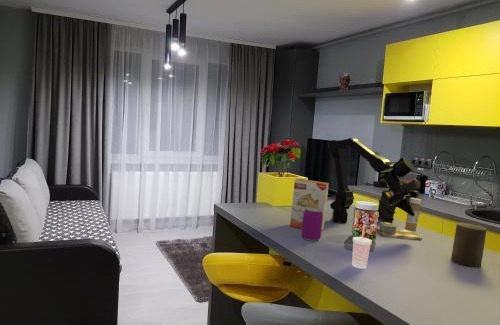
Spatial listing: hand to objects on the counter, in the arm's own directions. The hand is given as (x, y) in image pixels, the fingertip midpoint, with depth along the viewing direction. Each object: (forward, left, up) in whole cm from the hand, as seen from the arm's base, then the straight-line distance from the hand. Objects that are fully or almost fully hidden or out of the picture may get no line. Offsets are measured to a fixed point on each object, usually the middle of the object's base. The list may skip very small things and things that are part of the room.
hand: (416, 215), depth 164 cm
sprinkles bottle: (-1, +1, -7) cm, 7 cm away
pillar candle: (+12, -20, -12) cm, 26 cm away
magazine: (0, +38, -12) cm, 40 cm away
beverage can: (-43, -8, -12) cm, 45 cm away
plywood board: (-2, +12, -12) cm, 17 cm away
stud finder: (-7, +12, -12) cm, 18 cm away
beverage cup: (-30, -35, -12) cm, 48 cm away
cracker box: (-43, +8, -12) cm, 45 cm away
